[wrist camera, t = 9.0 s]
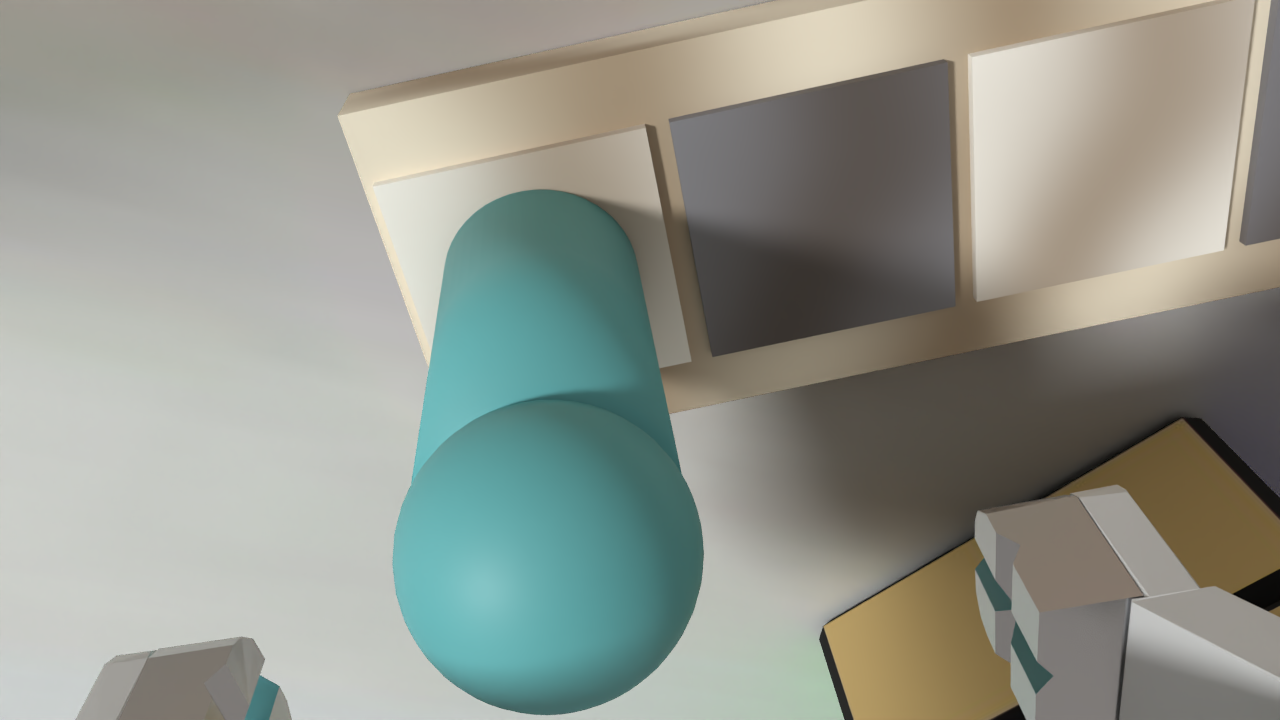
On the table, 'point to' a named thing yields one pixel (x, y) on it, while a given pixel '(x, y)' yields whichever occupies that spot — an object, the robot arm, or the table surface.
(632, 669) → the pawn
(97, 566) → the table surface
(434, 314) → the board
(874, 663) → the puzzle cube
